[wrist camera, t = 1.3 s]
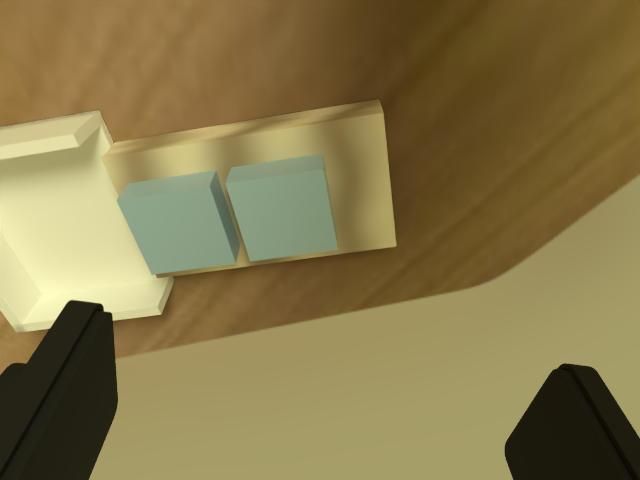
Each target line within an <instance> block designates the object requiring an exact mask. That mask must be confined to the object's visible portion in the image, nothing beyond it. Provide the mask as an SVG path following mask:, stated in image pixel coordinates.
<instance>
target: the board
mask: <svg viewBox="0 0 640 480" xmlns="http://www.w3.org/2000/svg"><path fill="white" fill-rule="evenodd" d="M322 153H323V155H324V161H325V167H326V172H327V178H328V183H329V189H330V194H331V200H332V205H333V211H334V216H335V222H336V228H337V239H338V250H332V251H325V252H317V253H310V254H302V255H295V256H287V257H280V258H273V259H265V260H258V261H250V259H249V256H248V253H247V250H246V247H245V244H244V241H243V237H242V234H241V231H240V228H239V225H238V222H237V219H236V215H235V212H234V209H233V206H232V203H231V200H230V197H229V193H228V190H227V187H226V181H227V178H228V175H229V172H230V169H231V168H232V167H238V166H244V165H251V164H257V163H264V162H270V161H277V160H283V159H290V158H296V157H302V156H309V155H315V154H322ZM101 160H102V162H103V164H104V166H105V168H106V170H107V172H108V174H109V177H110V179H111V181H112V183H113V185H114V187H115V189H116V192H117V194H118V196H120V195H121V193H122V192H123V190H124V189H125V187H126V186H127V184H129V183H135V182H141V181H148V180H154V179H161V178H167V177H174V176H180V175H187V174H193V173H199V172H206V171H212V170H216V171H217V174H218V177H219V180H220V183H221V187H222V190H223V193H224V196H225V199H226V202H227V205H228V208H229V211H230V214H231V217H232V220H233V223H234V227H235V230H236V233H237V236H238V239H239V242H240V248H239V252H238V257H237V261H236V263H235V264H228V265H221V266H213V267H206V268H198V269H191V270H184V271H176V272H169V273H161V274H155V275H156V277H157V278H165V277H172V276H179V275H187V274H194V273H202V272H209V271H217V270H224V269H232V268H239V267H247V266H254V265H262V264H269V263H277V262H284V261H292V260H299V259H307V258H314V257H322V256H329V255H337V254H344V253H352V252H359V251H366V250H374V249H381V248H389V247H396V236H395V226H394V215H393V205H392V195H391V185H390V174H389V164H388V154H387V144H386V133H385V123H384V113H383V109H382V106H381V102H380V99H376V100H369V101H363V102H357V103H351V104H345V105H339V106H333V107H327V108H321V109H315V110H309V111H303V112H297V113H291V114H285V115H278V116H272V117H266V118H260V119H254V120H248V121H242V122H236V123H230V124H224V125H218V126H212V127H206V128H200V129H194V130H187V131H181V132H175V133H169V134H163V135H157V136H151V137H145V138H139V139H133V140H127V141H121V142H115V143H114V144H113V145H112V146H111V147H110V149H109V150H108V151H107V152H106V153H105V154H104V155H103V157H102V158H101Z"/></svg>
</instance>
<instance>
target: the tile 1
mask: <svg viewBox="0 0 640 480" xmlns="http://www.w3.org/2000/svg"><path fill="white" fill-rule="evenodd" d="M116 201H117V203H118V205H119V207H120V209H121V211H122V213H123V215H124V218H125V220H126V222H127V224H128V226H129V228H130V230H131V232H132V234H133V237H134V239H135V241H136V243H137V245H138V247H139V249H140V251H141V253H142V255H143V258H144V260H145V262H146V264H147V266H148V268H149V270H150V272H151V274H152V275H154V274H161V273H169V272H176V271H184V270H191V269H198V268H206V267H213V266H221V265H228V264H235V263H236V261H237V257H238V252H239V248H240V242H239V239H238V236H237V233H236V230H235V227H234V223H233V220H232V217H231V214H230V211H229V208H228V205H227V202H226V199H225V196H224V193H223V190H222V187H221V183H220V180H219V177H218V174H217V171H216V170H212V171H206V172H199V173H193V174H187V175H180V176H174V177H167V178H161V179H154V180H148V181H141V182H135V183H129V184H127V186H126V187H125V189H124V190H123V192H122V193H121V195H120V196H119V197H118V199H117V200H116Z"/></svg>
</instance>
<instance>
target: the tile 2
mask: <svg viewBox="0 0 640 480" xmlns="http://www.w3.org/2000/svg"><path fill="white" fill-rule="evenodd" d="M226 187H227V190H228V193H229V197H230V200H231V203H232V206H233V209H234V212H235V215H236V219H237V222H238V225H239V228H240V231H241V234H242V237H243V241H244V244H245V247H246V250H247V253H248V256H249V259H250V261H258V260H265V259H273V258H280V257H287V256H295V255H302V254H310V253H317V252H325V251H332V250H338V239H337V228H336V222H335V216H334V211H333V205H332V200H331V194H330V189H329V183H328V178H327V172H326V167H325V161H324V155H323V153H322V154H315V155H309V156H302V157H296V158H290V159H283V160H277V161H270V162H264V163H257V164H251V165H244V166H238V167H232V168H231V169H230V172H229V175H228V178H227V181H226Z"/></svg>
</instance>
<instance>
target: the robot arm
mask: <svg viewBox="0 0 640 480" xmlns="http://www.w3.org/2000/svg"><path fill="white" fill-rule="evenodd" d="M117 403H118V394H117V379H116V364H115V348H114V333H113V317H112V313H111V312H105V311H104V308H103V305H102V304H100V303H93V302H85V301H78V300H70V301H68V303H67V304H66V305H65V306H64V308H63V309H62V311H61V312H60V314H59V315H58V317H57V318H56V320H55V322H54V323H53V325H52V326H51V328H50V329H49V331H48V332H47V334H46V335H45V337H44V338H43V340H42V341H41V343H40V344H39V346H38V347H37V349H36V350H35V352H34V353H33V355H32V356H31V358H30V359H29V361H28V362H27V364H24V363H13V364H11V365H10V366H8V367H7V368H6V369H5V370H4V372H3V373H2V374H1V375H0V480H89V478H90V475H91V473H92V470H93V468H94V465H95V463H96V460H97V458H98V455H99V453H100V451H101V448H102V446H103V443H104V441H105V438H106V436H107V433H108V431H109V428H110V426H111V424H112V421H113V419H114V416H115V413H116V409H117ZM505 457H506V461H507V463H508V466H509V469H510V472H511V474H512V477H513V480H640V438H639V436H638V435H637V434H636V432H635V430H634V429H633V427H632V426H631V424H630V422H629V421H628V419H627V418H626V416H625V414H624V413H623V411H622V410H621V408H620V407H619V405H618V404H617V402H616V400H615V399H614V397H613V396H612V394H611V393H610V391H609V389H608V388H607V386H606V385H605V383H604V382H603V380H602V378H601V377H600V375H599V374H598V372H597V371H596V370H595V369H594V368H592V367H589V366H581V365H574V364H562V365H560V366H559V367H558V368H557V369H555V370H553V371H552V372H551V373H550V375H549V376H548V378H547V379H546V381H545V382H544V384H543V385H542V387H541V388H540V390H539V392H538V393H537V395H536V396H535V398H534V399H533V401H532V402H531V404H530V406H529V407H528V409H527V410H526V412H525V413H524V415H523V416H522V418H521V419H520V421H519V423H518V424H517V426H516V427H515V429H514V430H513V432H512V433H511V435H510V437H509V438H508V440H507V441H506V444H505Z"/></svg>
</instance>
